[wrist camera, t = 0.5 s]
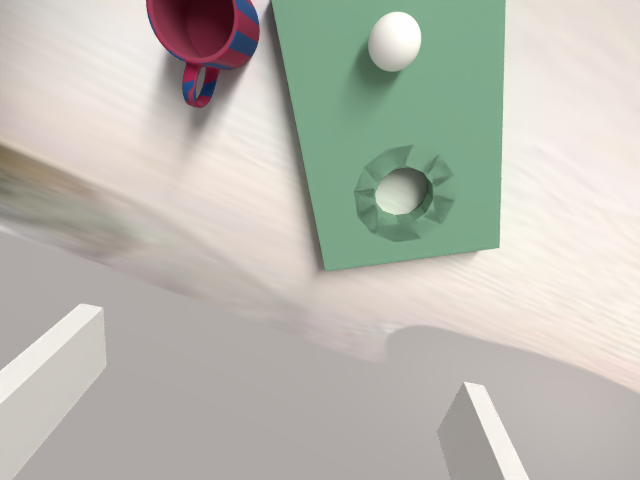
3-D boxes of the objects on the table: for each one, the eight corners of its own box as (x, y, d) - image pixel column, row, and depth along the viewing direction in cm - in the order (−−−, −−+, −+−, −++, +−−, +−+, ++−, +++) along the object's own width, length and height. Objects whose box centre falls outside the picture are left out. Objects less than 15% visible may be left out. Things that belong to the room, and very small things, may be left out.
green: (273, -7, 29) (268, -16, 27) (493, -60, 27) (507, -74, 25) (326, 260, 39) (325, 271, 37) (489, 238, 37) (499, 247, 35)
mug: (269, 1, 30) (250, -23, 23) (238, 115, 33) (214, 121, 27) (195, -33, 29) (154, -67, 23) (171, 88, 33) (131, 87, 27)
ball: (363, 23, 28) (366, 12, 24) (413, 12, 27) (425, 0, 23) (369, 77, 29) (373, 75, 26) (417, 67, 29) (428, 64, 25)
